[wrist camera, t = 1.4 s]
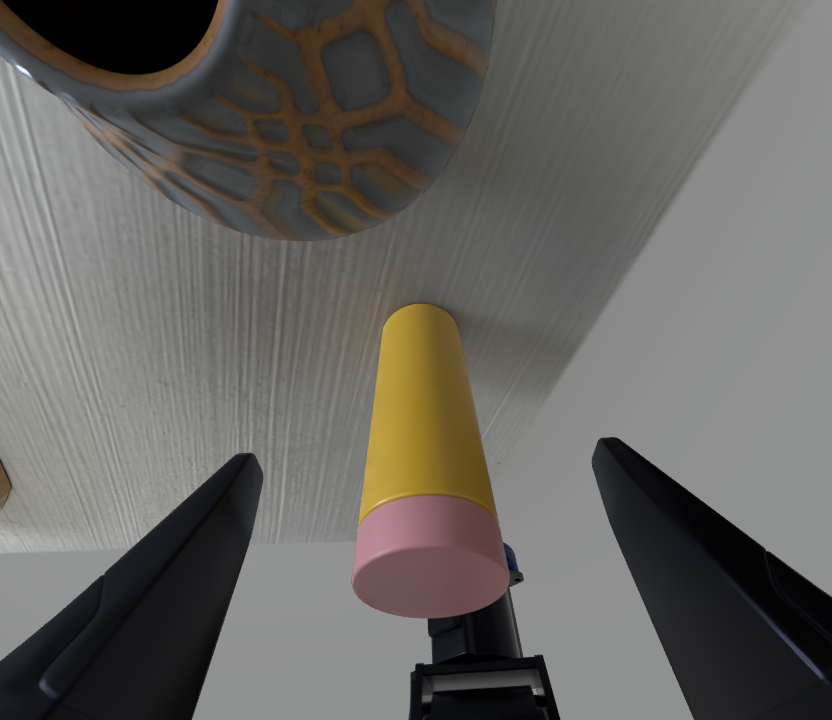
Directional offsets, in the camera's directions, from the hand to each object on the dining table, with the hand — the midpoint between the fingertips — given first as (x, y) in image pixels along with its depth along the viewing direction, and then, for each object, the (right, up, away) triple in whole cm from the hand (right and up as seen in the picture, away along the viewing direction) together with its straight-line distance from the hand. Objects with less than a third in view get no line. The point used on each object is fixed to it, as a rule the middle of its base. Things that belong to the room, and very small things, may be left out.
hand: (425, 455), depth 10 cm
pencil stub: (0, +3, +5) cm, 6 cm away
